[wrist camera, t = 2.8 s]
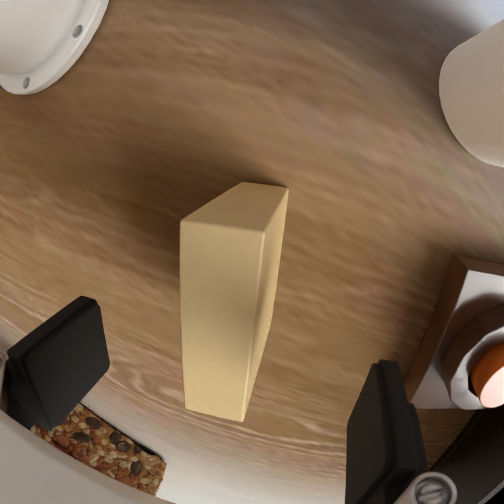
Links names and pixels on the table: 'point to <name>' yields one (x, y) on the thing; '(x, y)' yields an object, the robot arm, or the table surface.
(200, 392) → the toast
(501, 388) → the button
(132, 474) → the bread
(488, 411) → the toaster
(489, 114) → the cylindrical container
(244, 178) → the table surface
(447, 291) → the control block
